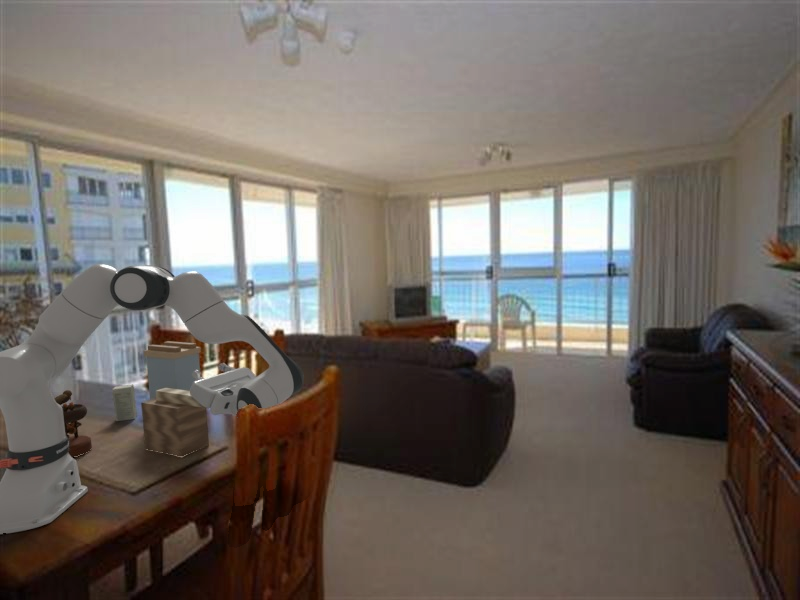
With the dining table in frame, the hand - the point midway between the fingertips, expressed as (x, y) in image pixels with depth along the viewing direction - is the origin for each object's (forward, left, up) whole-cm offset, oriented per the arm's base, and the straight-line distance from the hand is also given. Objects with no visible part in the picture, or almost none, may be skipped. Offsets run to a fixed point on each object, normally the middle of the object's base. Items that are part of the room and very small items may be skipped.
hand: (207, 368), depth 134 cm
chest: (+34, +16, -26) cm, 46 cm away
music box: (+18, +43, -27) cm, 54 cm away
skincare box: (+46, +36, -27) cm, 64 cm away
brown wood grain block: (+10, +12, -26) cm, 31 cm away
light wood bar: (+7, +8, -11) cm, 15 cm away
